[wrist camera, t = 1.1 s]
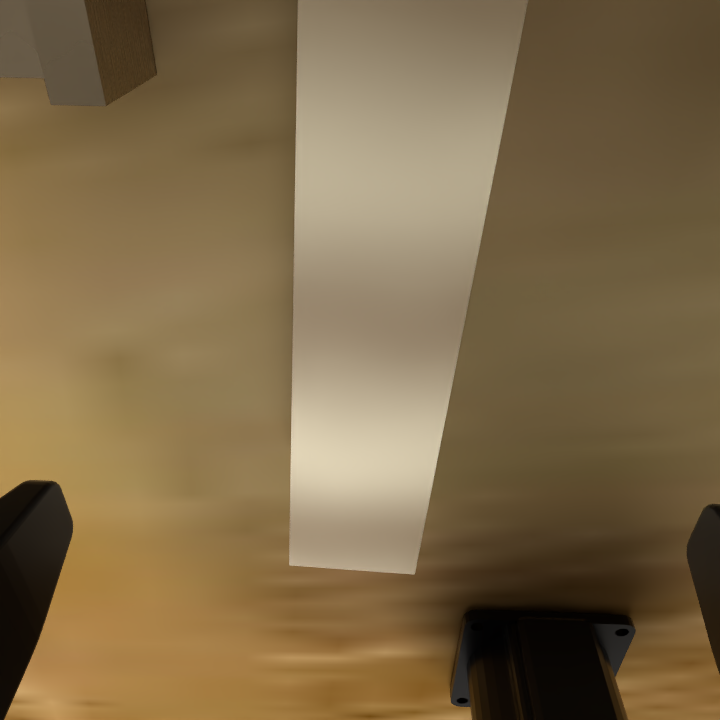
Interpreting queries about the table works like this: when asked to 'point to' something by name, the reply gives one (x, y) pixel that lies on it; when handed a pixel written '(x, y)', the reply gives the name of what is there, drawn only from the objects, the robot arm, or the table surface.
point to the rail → (385, 257)
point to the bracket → (77, 47)
